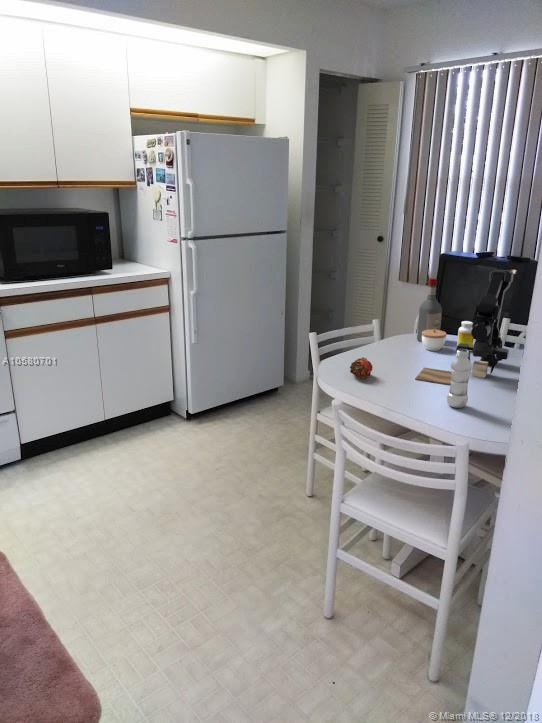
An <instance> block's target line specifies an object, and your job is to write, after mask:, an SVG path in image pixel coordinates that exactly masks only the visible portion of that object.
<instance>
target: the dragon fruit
mask: <svg viewBox="0 0 542 723" xmlns="http://www.w3.org/2000/svg"><path fill="white" fill-rule="evenodd" d="M373 367H374V366H373V364H372V362H371V361H370V360H368V359H367V358H366V357H363V356H362V357H361V358H357V359H355V360H354V362H353V361H352V362H351V364H350V366H349V369H350V370H349V373H350V374H352V375H354V376H355V377H356V378H358V379H360V378H363V379H364V378H370V377H371V372H372V371H373Z"/></svg>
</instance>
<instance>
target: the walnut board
mask: <svg viewBox="0 0 542 723" xmlns="http://www.w3.org/2000/svg"><path fill="white" fill-rule="evenodd" d="M415 381H421V382H428V383H434V384H440V385H444V386H445V385H446V386H450V385H451V370H450V371H449V370H445V369H436V368H429V367H423V368H422V370H421V371H420V372H419V373H418V375H417V376H416V377H415Z"/></svg>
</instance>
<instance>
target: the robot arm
mask: <svg viewBox="0 0 542 723" xmlns="http://www.w3.org/2000/svg"><path fill="white" fill-rule="evenodd" d="M514 275H515V274H514V273H513V272H512V271H511V270H507V269H506V270H504V269H494V270H493V271H489V278H488V280H489V284H488V287H487V290H486V292H485V295H484V296H483V297H481V298H480V300H479V302H478V303H476V306H475V310H474V314H473V319H472V320H473V321H476V324H475V325H474V326H472V328H473V329H472V331H471V334H472V337H473V340H474V341H475V342H473V346H472V347H469V344H464V343H460V344H458V346H457V345H456V348H455V354H457V350H458V349H466V350H468V351H469V357H468V359H469V360H470V361H471V353H472V356H473V357H476V358H477V357H478V358H479V357H480V360H479V361H484V362H488V366H491V368H490V372H489V373H490V375H491V374H493V371H494V369H495V367H496V366H497V364H498V363H499V361H500V362H502V361H503V360H505V361H506V360H507V359H508V357H509V353H510V350H509V349H508V348H503V347H504V345H503V338H502V337H501V335H502V333H501V331H500V329H499V323H500V318H501V313H502V308H503V302H504V297H505V293H506V292H507V291H508V290H509V289H510V287H511V283H513V281H514Z"/></svg>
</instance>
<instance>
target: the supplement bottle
mask: <svg viewBox="0 0 542 723" xmlns="http://www.w3.org/2000/svg"><path fill="white" fill-rule="evenodd" d="M473 325H474V322H472V321H469V320H464V321H463V320H462V321H461V326H460V327H459V328H458V330H457V331H458V332H457V341H456V347H457V346H458V344H460V343H464V344H469V347H474V338H473V337H472V334H471V331H472V329H473Z"/></svg>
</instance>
